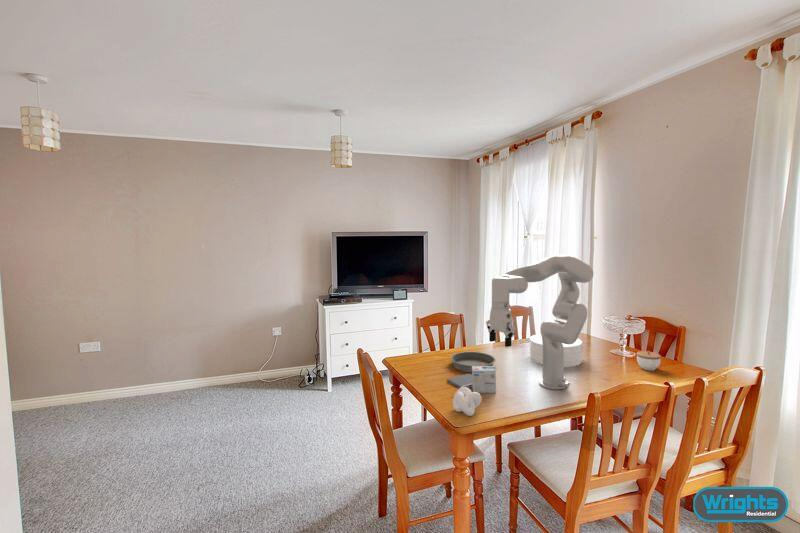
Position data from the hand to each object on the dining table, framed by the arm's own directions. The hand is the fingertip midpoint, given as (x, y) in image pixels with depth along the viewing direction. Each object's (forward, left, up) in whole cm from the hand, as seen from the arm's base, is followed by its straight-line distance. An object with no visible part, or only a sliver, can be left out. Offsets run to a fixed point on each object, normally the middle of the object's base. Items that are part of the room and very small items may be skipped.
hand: (500, 343), depth 167 cm
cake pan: (+40, -18, -25) cm, 50 cm away
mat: (+23, +1, -25) cm, 34 cm away
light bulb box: (+11, 0, -25) cm, 27 cm away
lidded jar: (-14, -92, -25) cm, 96 cm away
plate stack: (+23, -65, -25) cm, 73 cm away
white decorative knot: (-2, +20, -25) cm, 32 cm away
